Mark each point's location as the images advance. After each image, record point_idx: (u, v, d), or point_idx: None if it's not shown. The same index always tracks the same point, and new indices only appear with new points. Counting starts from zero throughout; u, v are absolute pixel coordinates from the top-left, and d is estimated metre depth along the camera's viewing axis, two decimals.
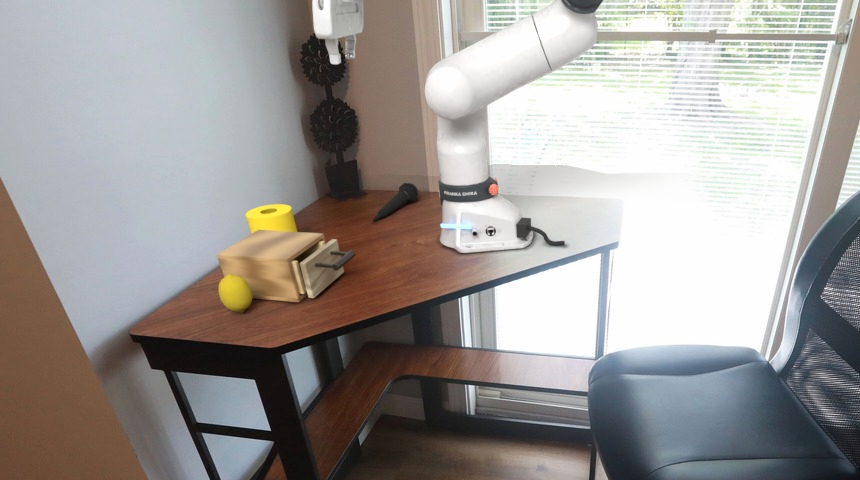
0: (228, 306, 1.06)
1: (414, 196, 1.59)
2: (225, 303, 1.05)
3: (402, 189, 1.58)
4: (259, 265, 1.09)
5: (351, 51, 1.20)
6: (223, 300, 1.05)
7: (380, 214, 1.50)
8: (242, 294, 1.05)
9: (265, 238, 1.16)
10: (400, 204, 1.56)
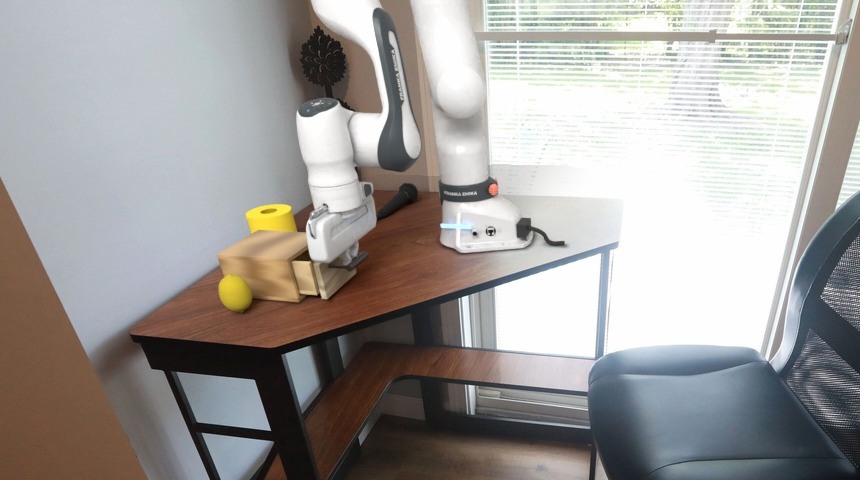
0: (228, 306, 1.06)
1: (414, 196, 1.59)
2: (225, 303, 1.05)
3: (402, 189, 1.58)
4: (259, 265, 1.09)
5: None
6: (223, 300, 1.05)
7: (380, 214, 1.50)
8: (242, 295, 1.05)
9: (265, 238, 1.16)
10: (400, 204, 1.56)
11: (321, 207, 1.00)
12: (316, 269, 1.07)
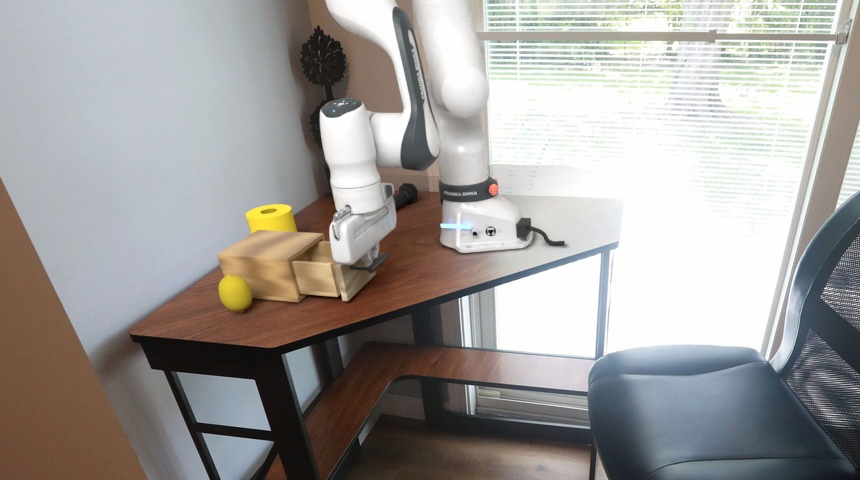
0: (228, 306, 1.06)
1: (414, 196, 1.59)
2: (225, 303, 1.05)
3: (402, 189, 1.58)
4: (259, 265, 1.09)
5: (373, 260, 1.10)
6: (223, 300, 1.05)
7: None
8: (242, 294, 1.05)
9: (265, 238, 1.16)
10: (400, 204, 1.56)
11: (344, 208, 0.99)
12: (337, 271, 1.06)
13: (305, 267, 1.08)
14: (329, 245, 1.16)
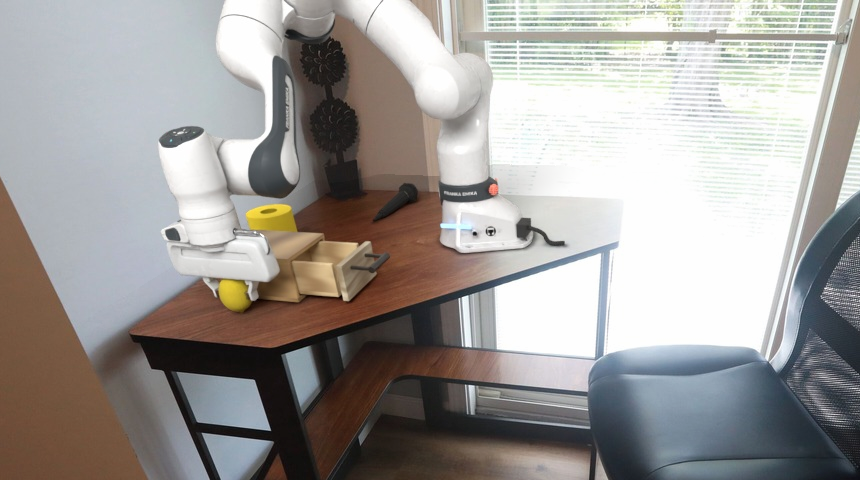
0: (228, 306, 1.06)
1: (414, 196, 1.59)
2: (225, 303, 1.05)
3: (402, 189, 1.58)
4: None
5: None
6: (223, 300, 1.05)
7: (380, 214, 1.50)
8: (242, 295, 1.05)
9: None
10: (400, 204, 1.56)
11: (243, 229, 0.99)
12: (338, 271, 1.06)
13: (306, 267, 1.08)
14: (330, 245, 1.16)
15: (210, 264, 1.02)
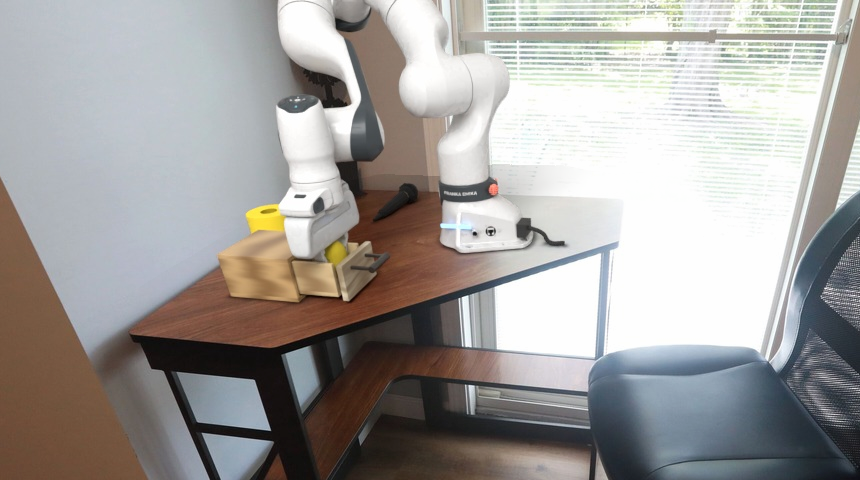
0: None
1: (414, 196, 1.59)
2: None
3: (402, 189, 1.58)
4: (259, 265, 1.09)
5: None
6: None
7: (380, 214, 1.50)
8: None
9: (265, 238, 1.16)
10: (400, 204, 1.56)
11: None
12: (338, 271, 1.06)
13: (306, 267, 1.08)
14: None
15: (330, 229, 1.07)
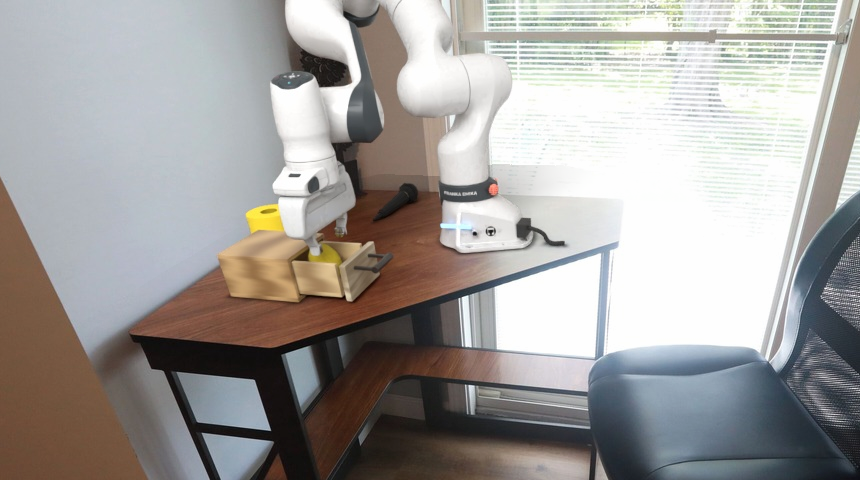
0: (337, 258, 1.12)
1: (414, 196, 1.59)
2: (334, 255, 1.12)
3: (402, 189, 1.58)
4: (259, 265, 1.09)
5: None
6: (331, 253, 1.12)
7: (380, 214, 1.50)
8: None
9: (265, 238, 1.16)
10: (400, 204, 1.56)
11: None
12: (342, 271, 1.06)
13: (309, 267, 1.08)
14: (333, 245, 1.16)
15: (325, 210, 1.05)
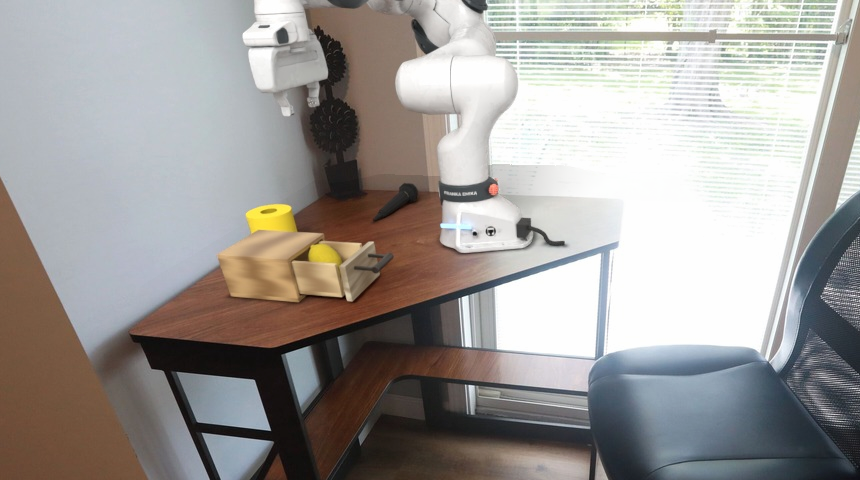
0: (337, 258, 1.12)
1: (414, 196, 1.59)
2: (334, 255, 1.12)
3: (402, 189, 1.58)
4: (259, 265, 1.09)
5: None
6: (331, 253, 1.12)
7: (380, 214, 1.50)
8: None
9: (265, 238, 1.16)
10: (400, 204, 1.56)
11: None
12: (342, 271, 1.06)
13: (309, 267, 1.08)
14: (333, 245, 1.16)
15: (296, 70, 1.08)
